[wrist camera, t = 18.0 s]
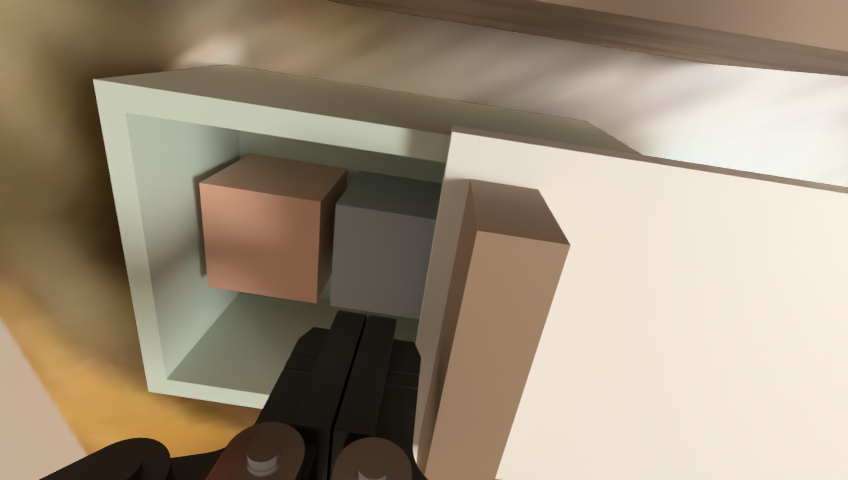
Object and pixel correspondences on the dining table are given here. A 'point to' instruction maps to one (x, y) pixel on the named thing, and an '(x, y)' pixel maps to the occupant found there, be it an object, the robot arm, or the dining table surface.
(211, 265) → the block terracotta
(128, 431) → the dining table surface
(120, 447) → the robot arm
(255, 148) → the box
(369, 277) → the block grey
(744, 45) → the cover
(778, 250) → the lid
